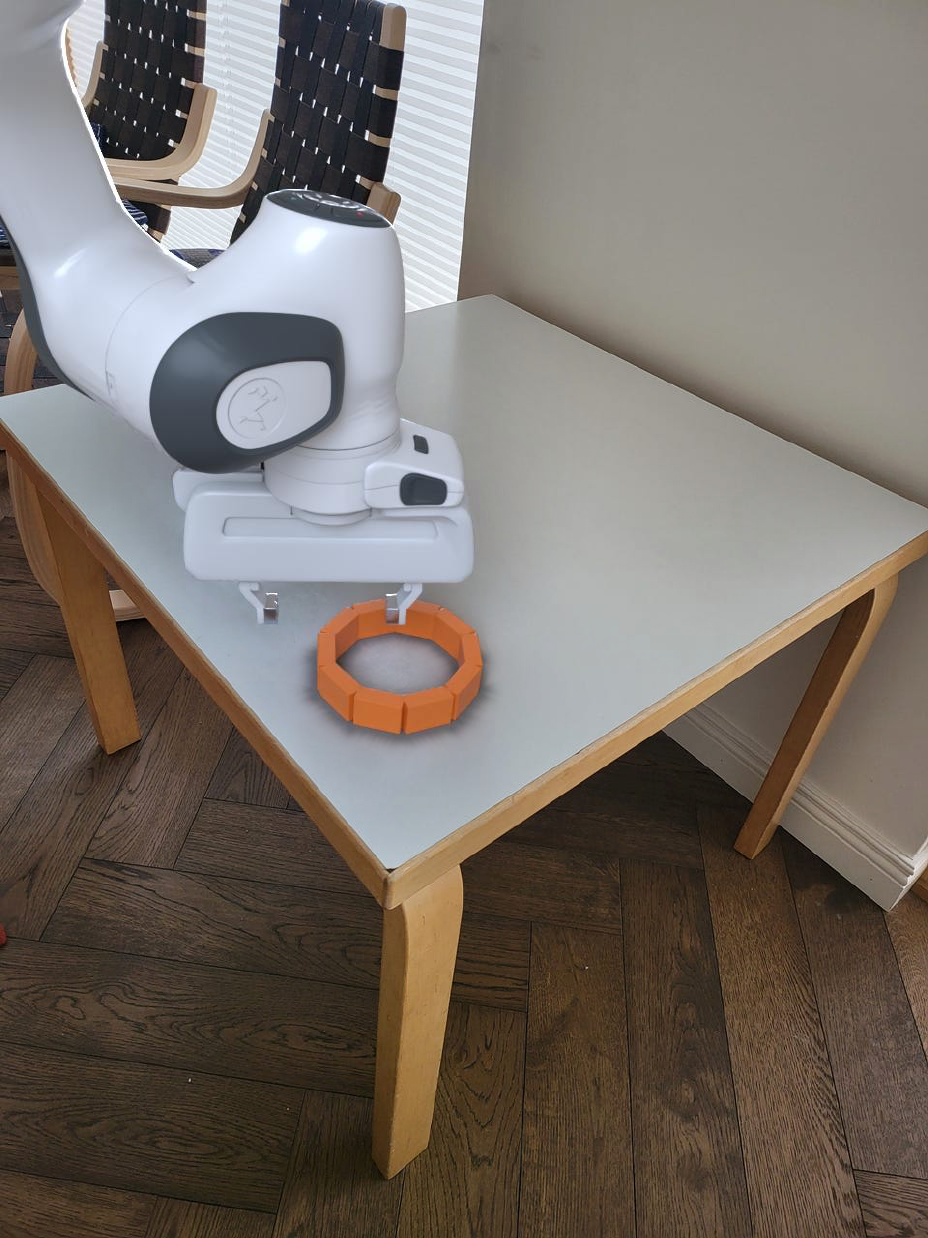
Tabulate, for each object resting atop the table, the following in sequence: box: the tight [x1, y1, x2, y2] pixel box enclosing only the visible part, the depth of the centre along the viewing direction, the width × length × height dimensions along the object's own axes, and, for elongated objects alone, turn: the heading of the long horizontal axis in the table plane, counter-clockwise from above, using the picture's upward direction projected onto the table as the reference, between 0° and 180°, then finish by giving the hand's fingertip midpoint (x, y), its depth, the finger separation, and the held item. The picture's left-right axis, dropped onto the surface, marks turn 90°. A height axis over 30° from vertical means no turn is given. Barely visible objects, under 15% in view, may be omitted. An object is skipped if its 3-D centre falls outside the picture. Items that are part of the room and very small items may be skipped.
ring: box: [316, 597, 484, 735], centre depth 72 cm, size 13×13×3 cm
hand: (332, 619), depth 69 cm, fingers open, 8 cm apart
